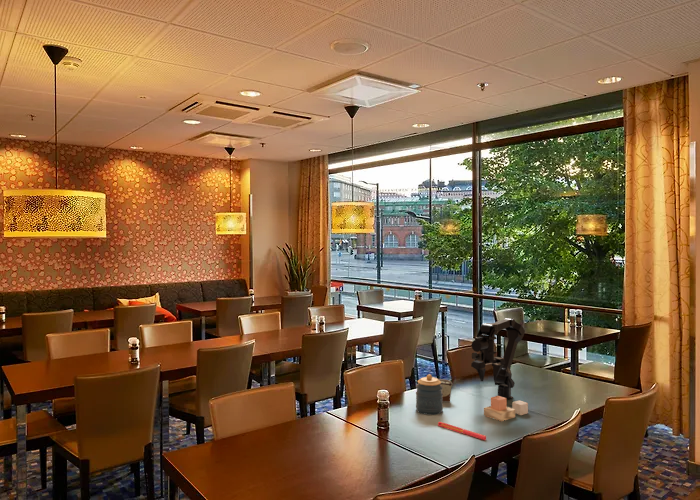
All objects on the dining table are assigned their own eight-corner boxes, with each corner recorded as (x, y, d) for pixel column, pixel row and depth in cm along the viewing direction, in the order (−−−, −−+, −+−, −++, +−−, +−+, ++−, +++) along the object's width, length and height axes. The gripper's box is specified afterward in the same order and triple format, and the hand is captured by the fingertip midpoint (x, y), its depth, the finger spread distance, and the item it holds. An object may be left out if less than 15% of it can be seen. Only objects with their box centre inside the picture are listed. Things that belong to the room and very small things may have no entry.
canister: (446, 408, 255) (445, 372, 255) (438, 416, 244) (438, 379, 243) (420, 405, 261) (420, 369, 260) (412, 413, 249) (412, 376, 249)
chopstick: (442, 426, 234) (435, 425, 231) (442, 421, 235) (436, 420, 232) (488, 441, 217) (482, 441, 214) (489, 436, 217) (483, 435, 214)
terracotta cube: (498, 406, 247) (497, 395, 247) (506, 408, 243) (506, 398, 243) (490, 408, 244) (490, 397, 244) (499, 411, 240) (499, 400, 240)
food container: (451, 398, 272) (451, 379, 271) (452, 401, 266) (452, 382, 265) (427, 397, 273) (427, 378, 273) (428, 401, 267) (428, 381, 267)
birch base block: (497, 412, 251) (497, 403, 251) (515, 417, 243) (515, 409, 242) (483, 416, 245) (483, 407, 245) (501, 422, 237) (501, 413, 237)
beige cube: (519, 410, 252) (519, 400, 252) (527, 413, 248) (527, 403, 247) (512, 412, 249) (512, 402, 249) (520, 415, 245) (520, 404, 245)
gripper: (489, 344, 274) (489, 373, 274) (463, 348, 264) (463, 378, 264) (506, 347, 264) (506, 378, 265) (479, 352, 254) (479, 384, 255)
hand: (488, 379), depth 262 cm, fingers open, 9 cm apart
